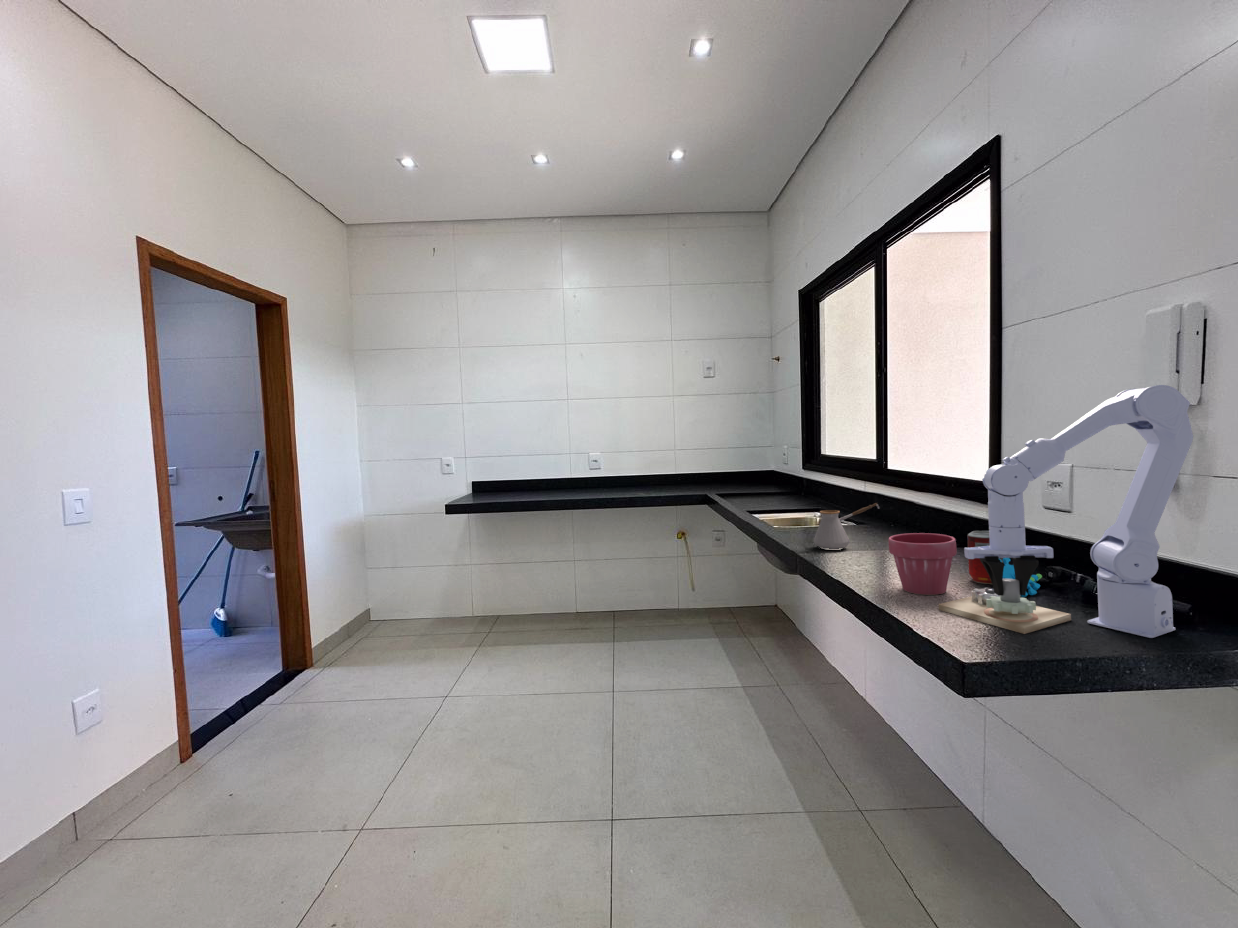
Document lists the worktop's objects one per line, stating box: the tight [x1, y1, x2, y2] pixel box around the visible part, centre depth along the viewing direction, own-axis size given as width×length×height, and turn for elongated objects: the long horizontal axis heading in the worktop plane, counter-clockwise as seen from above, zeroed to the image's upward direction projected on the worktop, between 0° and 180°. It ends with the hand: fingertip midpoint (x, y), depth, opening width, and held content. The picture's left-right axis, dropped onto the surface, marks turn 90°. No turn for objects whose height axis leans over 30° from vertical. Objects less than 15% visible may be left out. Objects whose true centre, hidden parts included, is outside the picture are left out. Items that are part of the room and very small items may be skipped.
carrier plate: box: [938, 595, 1072, 635], centre depth 108 cm, size 17×14×1 cm
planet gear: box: [986, 579, 1037, 614], centre depth 104 cm, size 8×8×6 cm
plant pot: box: [888, 532, 958, 596], centre depth 127 cm, size 14×14×13 cm
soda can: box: [966, 530, 1004, 585], centre depth 131 cm, size 7×7×12 cm
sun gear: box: [970, 587, 1000, 605], centre depth 113 cm, size 7×7×3 cm
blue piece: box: [999, 558, 1043, 598], centre depth 122 cm, size 11×6×10 cm
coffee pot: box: [813, 502, 881, 549], centre depth 178 cm, size 21×12×15 cm, turn 78°
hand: (1009, 594), depth 104 cm, fingers closed on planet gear, 3 cm apart
